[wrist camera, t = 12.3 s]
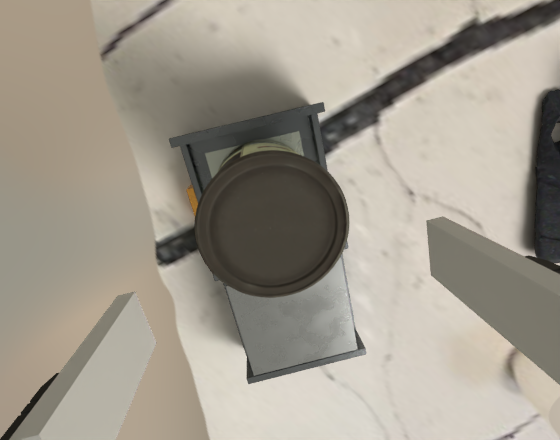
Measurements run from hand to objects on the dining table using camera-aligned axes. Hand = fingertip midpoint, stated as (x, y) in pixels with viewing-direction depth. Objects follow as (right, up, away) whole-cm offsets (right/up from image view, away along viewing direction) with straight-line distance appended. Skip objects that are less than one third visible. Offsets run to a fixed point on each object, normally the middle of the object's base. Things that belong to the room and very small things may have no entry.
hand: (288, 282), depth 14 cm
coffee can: (-2, +6, +21) cm, 22 cm away
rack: (-1, 0, +24) cm, 24 cm away
